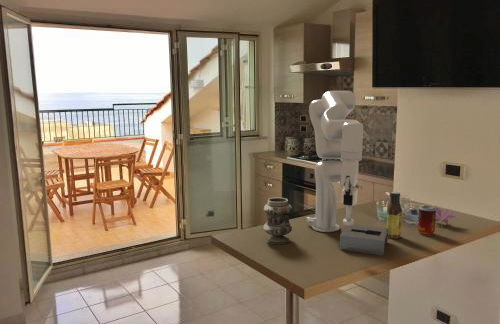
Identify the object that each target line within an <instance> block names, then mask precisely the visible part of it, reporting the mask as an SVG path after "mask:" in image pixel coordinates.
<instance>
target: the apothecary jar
mask: <svg viewBox="0 0 500 324" xmlns="http://www.w3.org/2000/svg"><path fill="white" fill-rule="evenodd" d="M292 210H293V208H292V205H291V204H289V200H288V198H285V197H270V198H268V199H267V203H266V204H265V205H264V207H263V211H264V212H265V213H266V222H265V223H264V225H263V231H264V232H265V233H266V234H268V235H270V236H268V237H266V242H267V243H269V244H270V245H271V244H272V245H284V244H287V243H289V242H290V238H289V237H288V236H286V235H288V234H290V233H291V232H292V230H293V226H292V223H290V213H291V212H292Z"/></svg>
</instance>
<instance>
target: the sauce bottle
mask: <svg viewBox="0 0 500 324" xmlns="http://www.w3.org/2000/svg"><path fill="white" fill-rule="evenodd" d="M400 199H401V192H399V191H391V192H390V200H389V202H390V203H388V205H387V210H386V211H387V212H386V227H385V228H387V229H388V239H395V240H396V239H397V240H398V239H400V238H401V234H402V221H403V209H402V206H401V203H400Z"/></svg>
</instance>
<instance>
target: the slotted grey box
mask: <svg viewBox="0 0 500 324" xmlns="http://www.w3.org/2000/svg"><path fill="white" fill-rule="evenodd" d="M388 241H389V238H388V229H387V228H386V227H385V228H384V227H377V226H368V225H361V224H360V225H359V224H354V225H352V226H347V225H345V227H344V229H343V230H342V232H340V235H339V250H341V251H347V252H348V251H349V252H356V253H362V254H369V255H370V254H371V255H375V256H376V255H377V256H384V255H385V244H388Z"/></svg>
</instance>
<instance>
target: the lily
mask: <svg viewBox="0 0 500 324" xmlns="http://www.w3.org/2000/svg"><path fill="white" fill-rule="evenodd" d="M433 207H434V208H435V209H436V218H435V223H436V222H440V223H441V224H440V225H441V226H440V227H441V229H442V228H443V223H444V224H446V225H449V219H454V218H455V219H456V218H459V216H458V215H456V214H454V213H451V211H452V210H451V209H450V208H449V209H445V210H444V209H442V208H441V207H439V206H437V205H434V206H433Z"/></svg>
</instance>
